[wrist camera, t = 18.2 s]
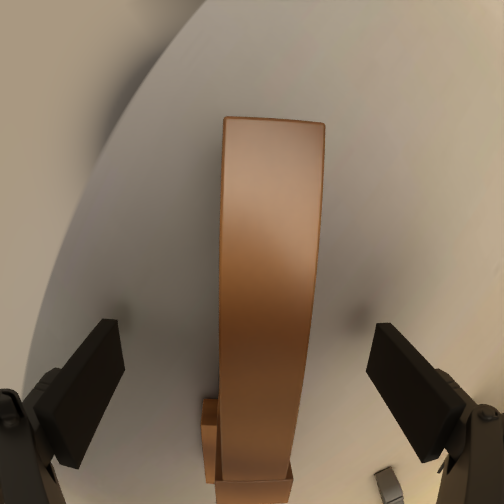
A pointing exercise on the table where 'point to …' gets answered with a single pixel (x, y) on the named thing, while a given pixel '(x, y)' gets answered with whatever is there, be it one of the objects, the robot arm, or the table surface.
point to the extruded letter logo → (389, 487)
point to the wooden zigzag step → (263, 303)
